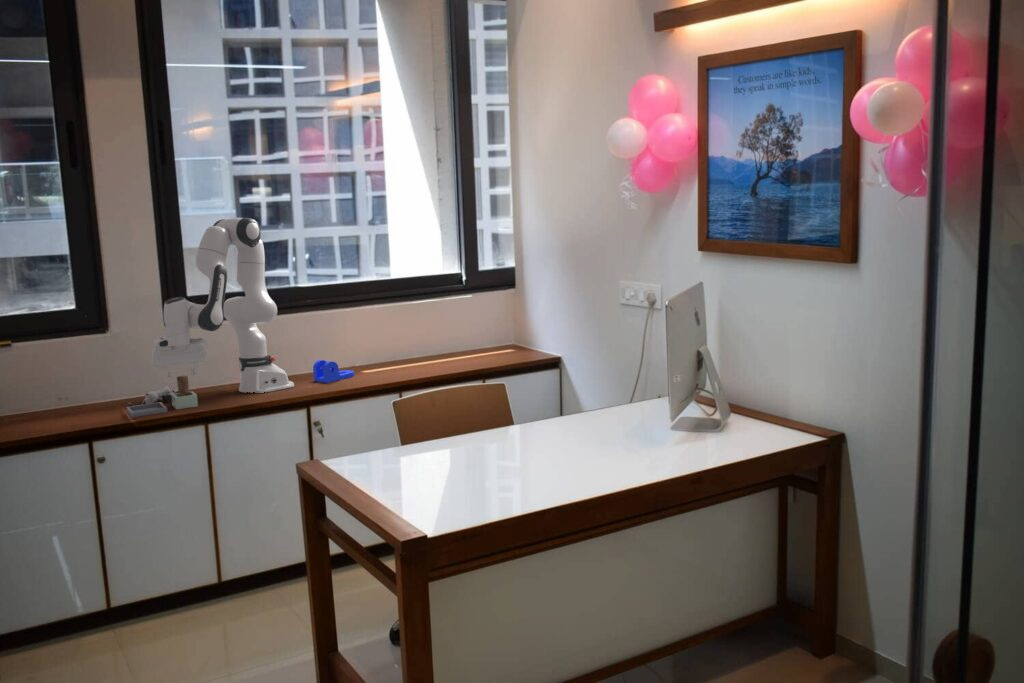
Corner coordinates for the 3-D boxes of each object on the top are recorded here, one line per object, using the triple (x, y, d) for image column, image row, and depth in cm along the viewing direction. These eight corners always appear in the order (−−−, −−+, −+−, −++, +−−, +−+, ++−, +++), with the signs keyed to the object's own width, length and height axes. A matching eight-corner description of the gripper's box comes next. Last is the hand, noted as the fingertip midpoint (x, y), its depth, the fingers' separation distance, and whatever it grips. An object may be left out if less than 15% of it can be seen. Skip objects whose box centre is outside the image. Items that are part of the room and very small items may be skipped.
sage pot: (193, 404, 365) (192, 391, 364) (198, 408, 358) (196, 394, 357) (172, 407, 361) (171, 394, 360) (176, 411, 354) (175, 397, 353)
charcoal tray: (161, 408, 361) (160, 402, 361) (167, 414, 350) (167, 408, 350) (127, 413, 355) (126, 407, 354) (132, 419, 344) (131, 413, 344)
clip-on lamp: (144, 418, 359) (184, 399, 371) (140, 404, 356) (180, 385, 369) (128, 412, 366) (167, 393, 378) (123, 397, 363) (164, 379, 376)
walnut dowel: (189, 404, 362) (186, 375, 360) (191, 405, 359) (188, 376, 357) (178, 405, 360) (175, 376, 358) (180, 407, 357) (177, 378, 355)
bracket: (327, 383, 396) (325, 363, 394) (314, 381, 401) (312, 361, 399) (358, 375, 410) (356, 355, 408) (345, 374, 415) (344, 354, 413)
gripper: (204, 336, 363) (206, 371, 365) (148, 341, 353) (152, 377, 355) (207, 338, 357) (210, 373, 359) (151, 343, 347) (154, 379, 349)
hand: (181, 375), depth 357 cm, fingers open, 8 cm apart
